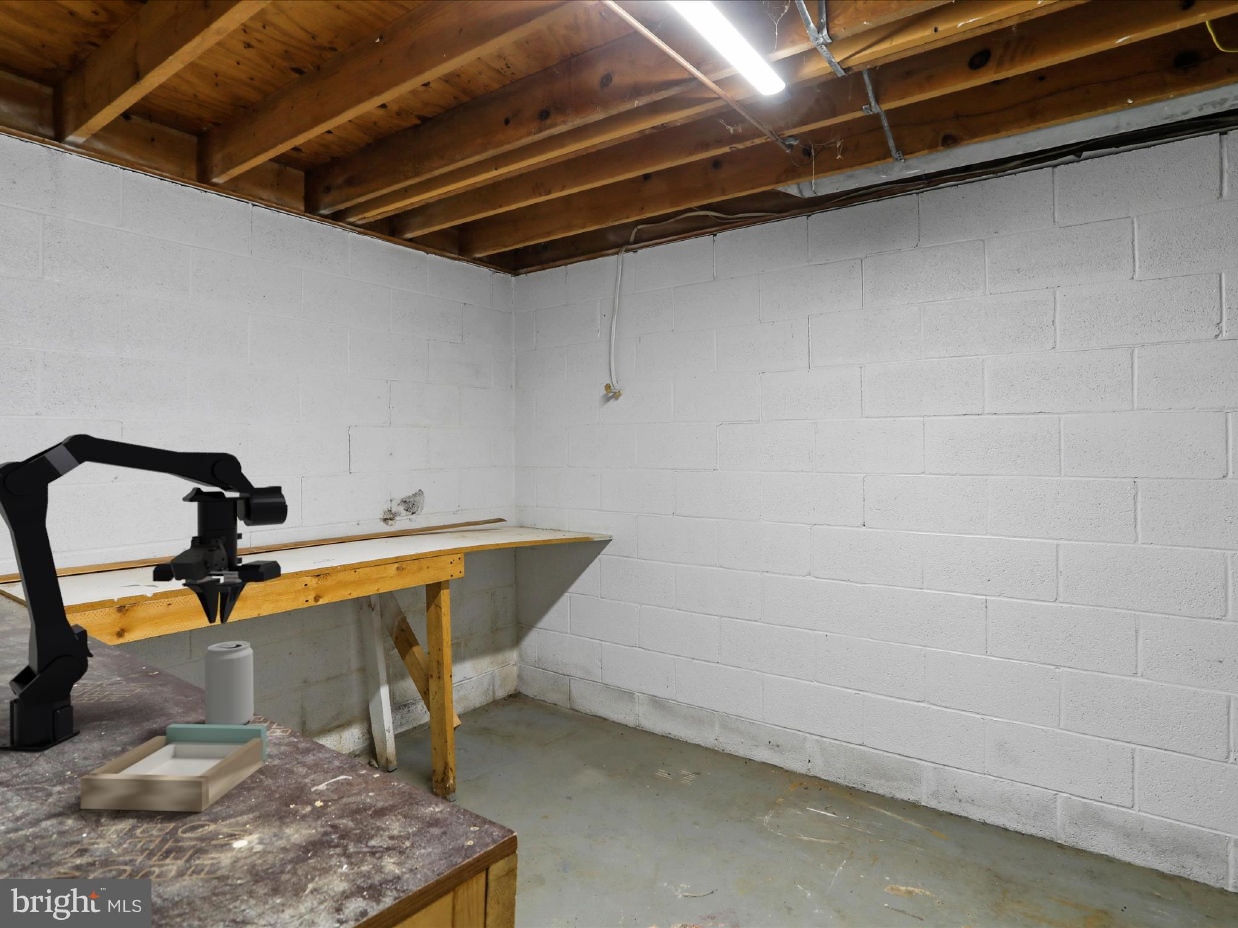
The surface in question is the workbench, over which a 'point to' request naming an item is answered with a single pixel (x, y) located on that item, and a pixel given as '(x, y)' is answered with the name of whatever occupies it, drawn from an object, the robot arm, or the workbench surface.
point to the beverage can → (229, 683)
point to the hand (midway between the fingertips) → (218, 623)
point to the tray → (196, 748)
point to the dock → (166, 781)
